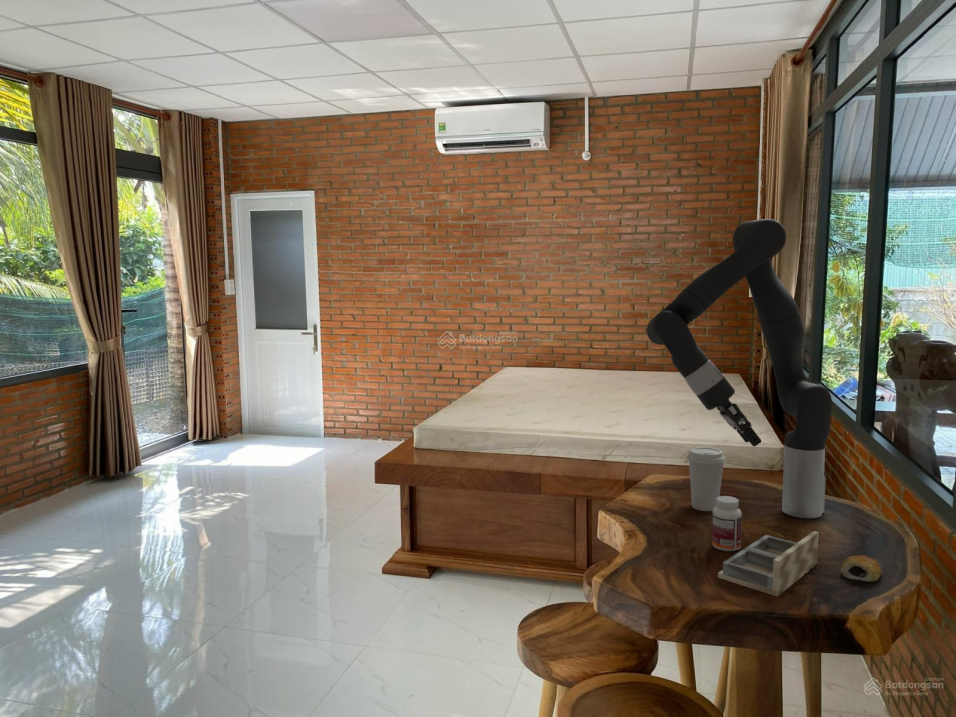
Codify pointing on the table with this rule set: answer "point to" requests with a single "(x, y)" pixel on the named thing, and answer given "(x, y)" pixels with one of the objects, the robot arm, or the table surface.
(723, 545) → the pill bottle
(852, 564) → the pastry
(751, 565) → the bottle rack
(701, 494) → the coffee cup
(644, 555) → the table surface
